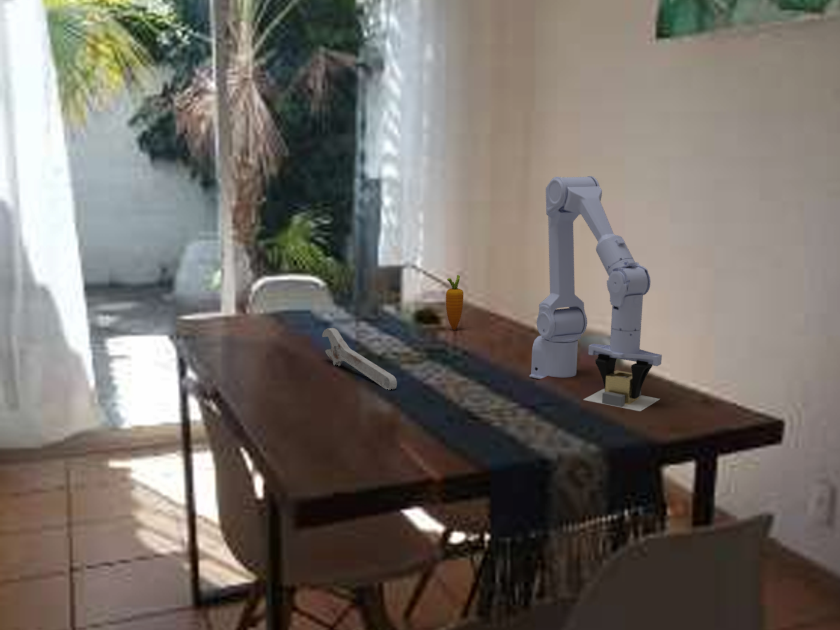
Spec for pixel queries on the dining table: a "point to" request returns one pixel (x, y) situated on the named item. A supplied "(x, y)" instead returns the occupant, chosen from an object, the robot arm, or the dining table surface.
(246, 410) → the dining table surface
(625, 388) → the brass collar
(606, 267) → the robot arm
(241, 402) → the dining table surface
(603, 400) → the block
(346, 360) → the wrench
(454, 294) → the carrot
